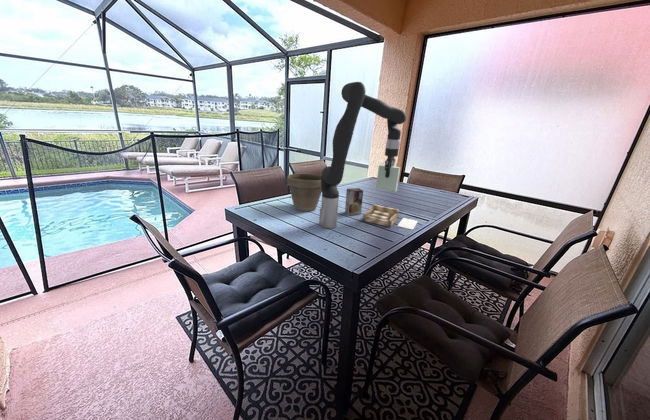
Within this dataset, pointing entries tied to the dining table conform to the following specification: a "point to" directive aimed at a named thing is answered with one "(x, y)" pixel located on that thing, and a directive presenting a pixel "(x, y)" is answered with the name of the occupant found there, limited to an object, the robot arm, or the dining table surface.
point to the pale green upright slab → (389, 182)
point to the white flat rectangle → (407, 223)
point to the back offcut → (381, 214)
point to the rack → (392, 215)
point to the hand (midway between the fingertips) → (388, 176)
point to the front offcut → (379, 216)
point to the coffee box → (354, 201)
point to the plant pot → (305, 190)
